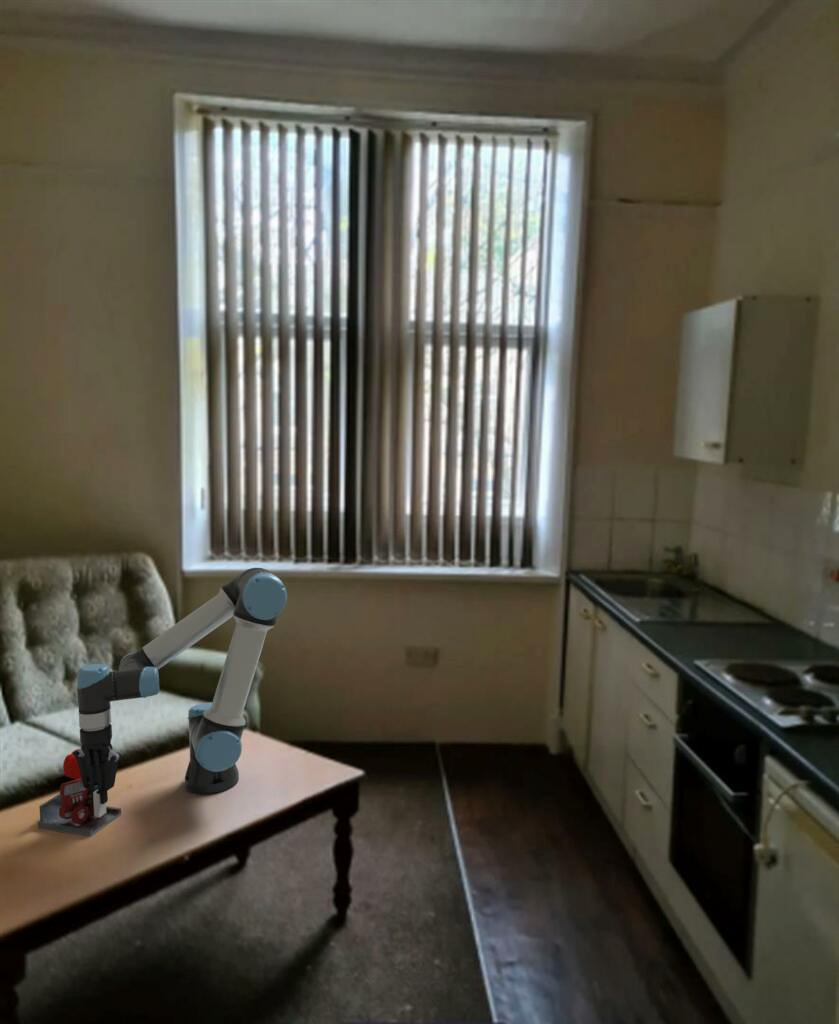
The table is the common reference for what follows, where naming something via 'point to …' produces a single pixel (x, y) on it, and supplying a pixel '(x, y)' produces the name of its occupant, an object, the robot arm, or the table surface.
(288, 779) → the table surface
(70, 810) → the toy fire truck
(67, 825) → the grey l-shaped tray
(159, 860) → the table surface
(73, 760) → the tomato
